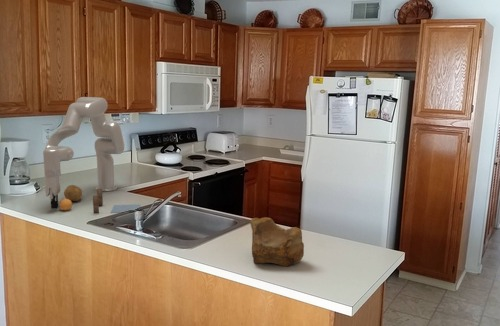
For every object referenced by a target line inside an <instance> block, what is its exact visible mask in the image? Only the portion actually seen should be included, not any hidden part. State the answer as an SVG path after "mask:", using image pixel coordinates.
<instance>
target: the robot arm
mask: <svg viewBox="0 0 500 326" xmlns="http://www.w3.org/2000/svg"><path fill="white" fill-rule="evenodd" d="M108 105H109V104H108V101H107V100H106V99H105V98H104V97H95V96H89V97H88V96H82V97H78V98H77V100H76V102H71V103H70V104H69V106H68V109H67V112H66V114H65V117H64V120H63V123H62V124H61V127H59V128H58V129H57V130H56V131H54V133H52V134H51V135H50V136H49V138H48V140H47V143H46V145H45V149H43V152H42V154H43V156H42V157H43V168H44V170H43V172H44V178H45V196H46V197H49V199H50V209H53V210H54V209H55V210H56V209H59V194H60V192H61V182H60V181H61V179H60V177H61V175H62V174H61V172H62V171H61V162H68V161H70V160H72V159H73V157H74V155H75V153H74V150H73V148H72V147H69V146H66V145H65V146H63V145H59V144H60V143H61V142H62V141H64V140H65V139H67V138H69V137H72V136H74V135H77V134H78V132H79V131H80V127H81V125H82V121H83V119H88V120H90V122H91V126H92V132H93V135H95V136H96V137H98V138H97V139H96V140H95V141H94V150H95V154H96V164H97V167H96V169H97V171H96V172H97V186H96V187H95V191H97V189H102V192H113V191H116V190H118V186H117V185H115V169H114V168H115V166H114V165H115V164H114V158H113V156H112V155H121V154H123V153H124V151H125V142H124V138H123V136H124V135H123V133H122V132H123V131H122V129H121V125H120V124H119V123H118V122H116V121H110V120H109V121H108V120H107V117H106V114H105V113H106V111H107V110H108V107H109V106H108Z"/></svg>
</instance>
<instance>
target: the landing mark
mask: <svg viewBox="0 0 500 326" xmlns="http://www.w3.org/2000/svg"><path fill="white" fill-rule="evenodd" d="M139 207H140V208H141V203H137V204H135V203H134V204H114V205H113V206H112V208H111V210H110V214H115V213H117V214H118V213H121V212H124V211H127V210H135V209H137V208H139ZM124 213H125V212H124ZM121 214H122V213H121Z"/></svg>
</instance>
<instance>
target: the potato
mask: <svg viewBox="0 0 500 326" xmlns="http://www.w3.org/2000/svg"><path fill="white" fill-rule="evenodd" d="M63 196H64V199H69V200H70V201H71V202H77V201H79V200H81V197H82V196H83V190H82V189H81V188H80V187H79V186H77V185H74V184H70V185H68V186H66V188H65V190H64V192H63Z"/></svg>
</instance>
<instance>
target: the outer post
mask: <svg viewBox="0 0 500 326" xmlns="http://www.w3.org/2000/svg"><path fill="white" fill-rule="evenodd" d="M92 206H93V207H92V208H93V209H92V210H93V214H95V215H97V214H100V207H99V202H98V195H97V194H94V195H92Z"/></svg>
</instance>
